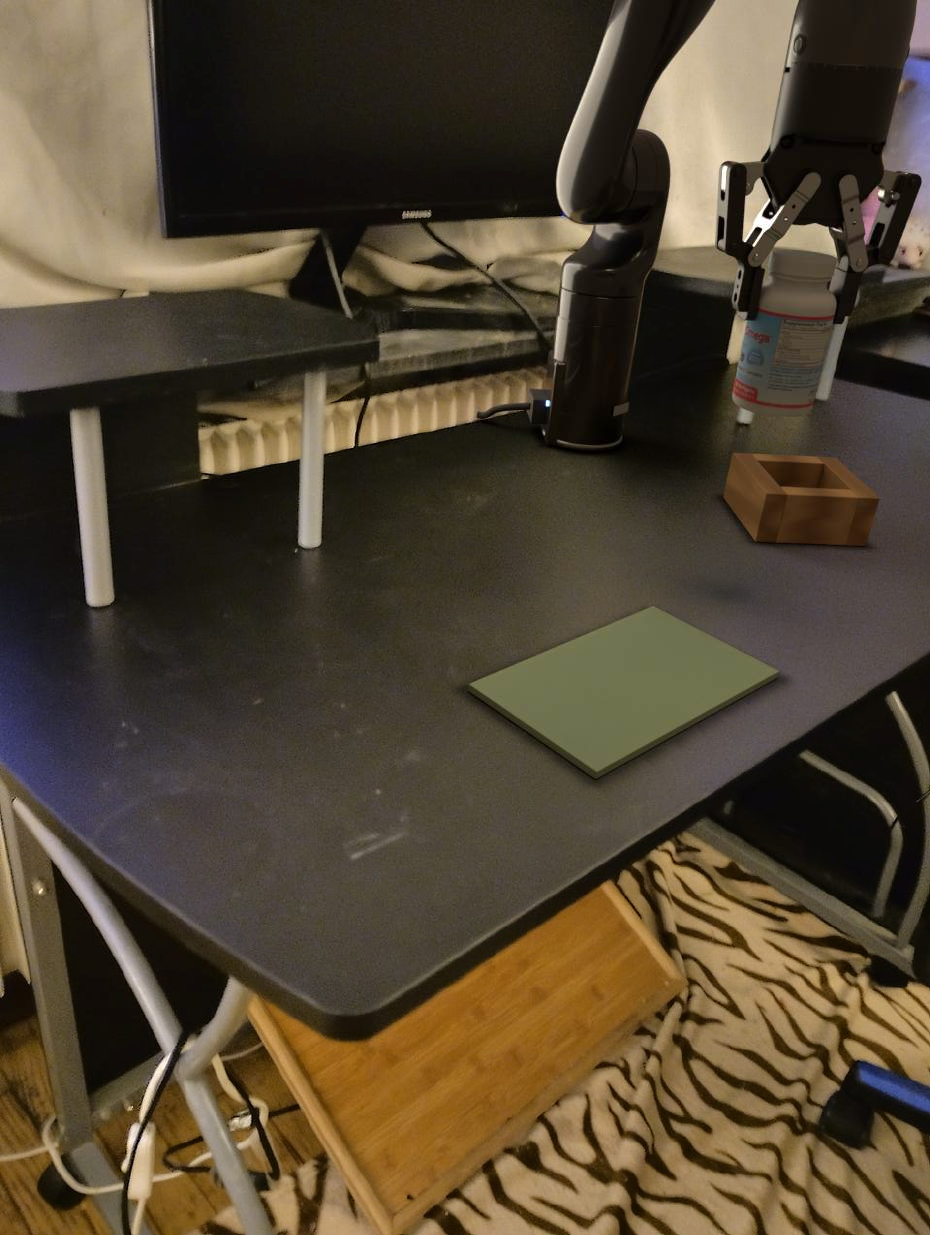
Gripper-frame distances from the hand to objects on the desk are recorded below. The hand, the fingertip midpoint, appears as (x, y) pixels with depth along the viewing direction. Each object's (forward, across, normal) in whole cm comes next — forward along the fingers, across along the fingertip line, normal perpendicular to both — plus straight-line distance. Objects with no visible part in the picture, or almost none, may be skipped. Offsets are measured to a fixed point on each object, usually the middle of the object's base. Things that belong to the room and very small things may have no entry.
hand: (788, 319), depth 73 cm
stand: (+23, -12, -16) cm, 30 cm away
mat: (+23, +12, +14) cm, 30 cm away
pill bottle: (+7, 0, 0) cm, 7 cm away
